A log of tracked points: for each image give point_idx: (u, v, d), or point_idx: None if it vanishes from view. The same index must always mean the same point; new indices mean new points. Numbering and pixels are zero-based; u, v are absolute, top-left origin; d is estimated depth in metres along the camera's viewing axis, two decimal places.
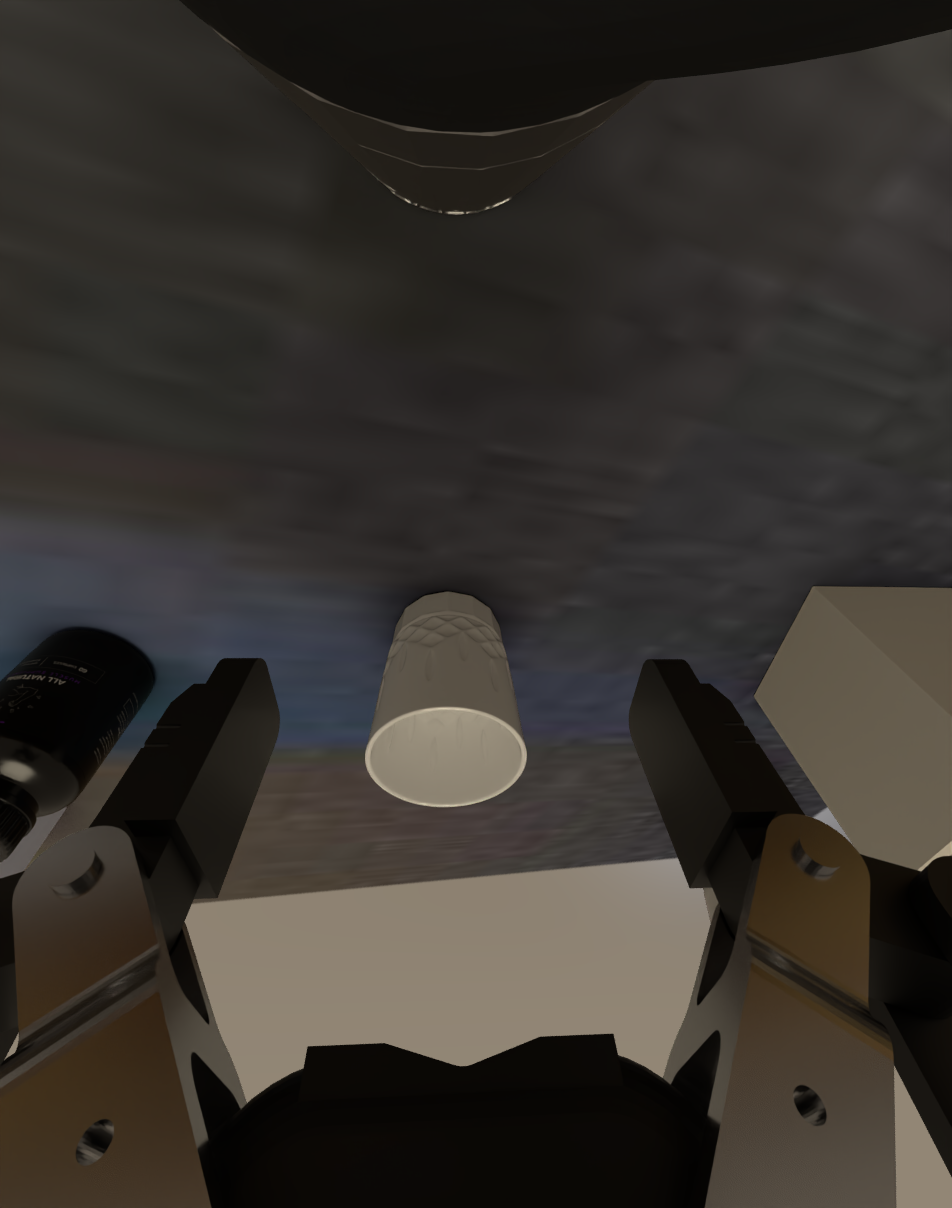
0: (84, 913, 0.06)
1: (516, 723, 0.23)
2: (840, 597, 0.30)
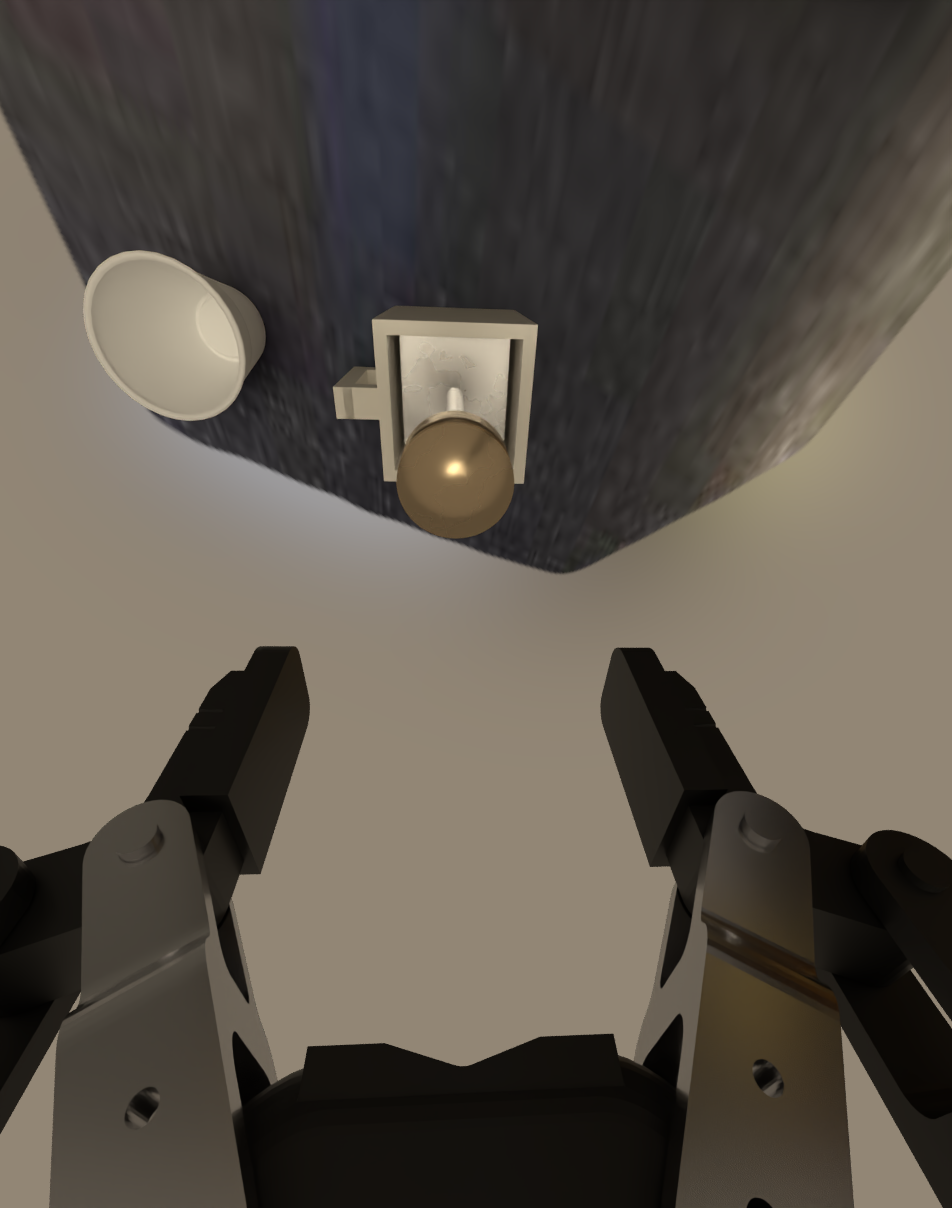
0: (144, 882, 0.06)
1: None
2: None
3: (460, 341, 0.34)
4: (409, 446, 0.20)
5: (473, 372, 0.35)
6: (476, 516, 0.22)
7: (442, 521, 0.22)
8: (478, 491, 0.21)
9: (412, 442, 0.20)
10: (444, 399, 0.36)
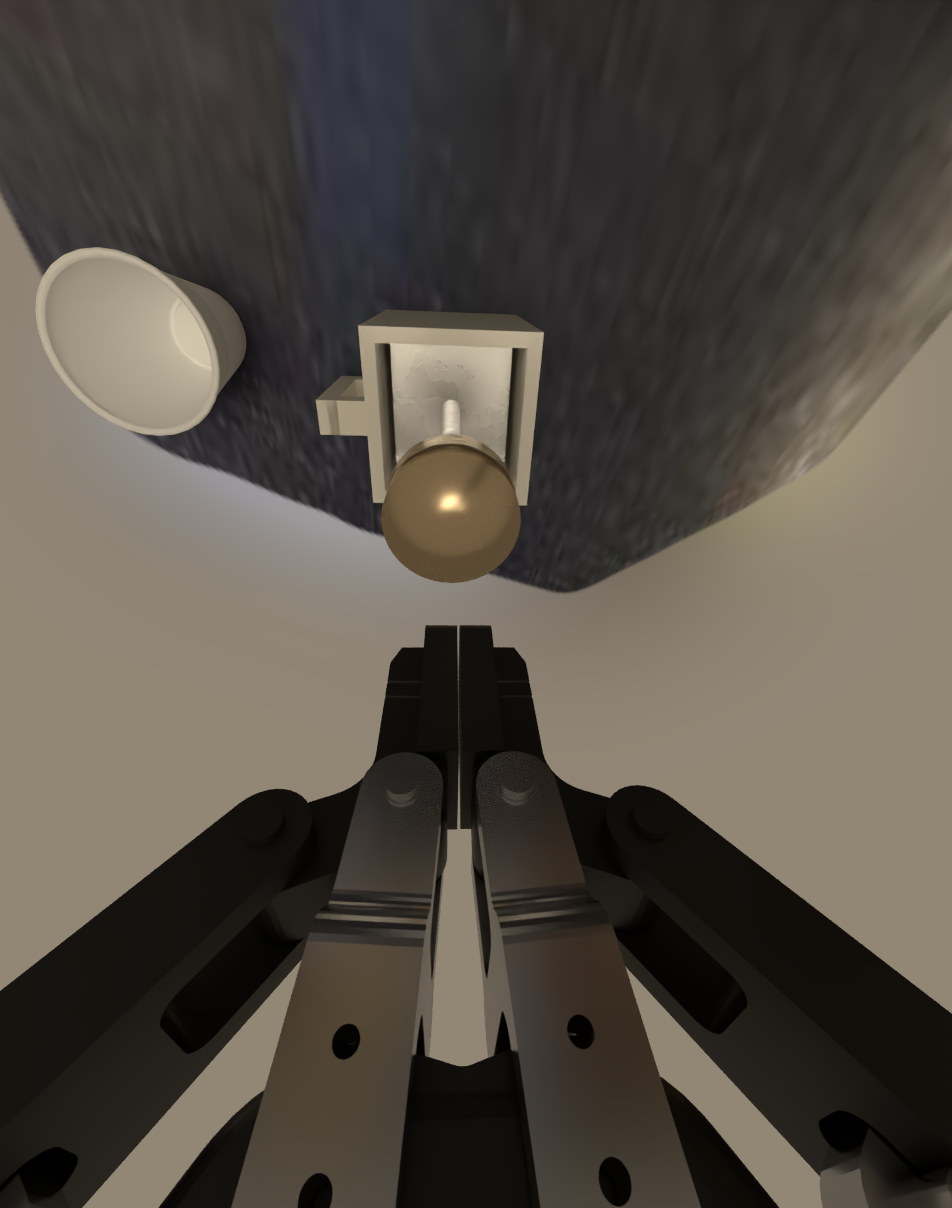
0: (395, 826, 0.07)
1: None
2: None
3: (457, 349, 0.30)
4: (396, 479, 0.17)
5: (472, 384, 0.32)
6: (475, 558, 0.18)
7: (436, 563, 0.18)
8: (478, 529, 0.18)
9: (400, 475, 0.17)
10: (439, 412, 0.33)
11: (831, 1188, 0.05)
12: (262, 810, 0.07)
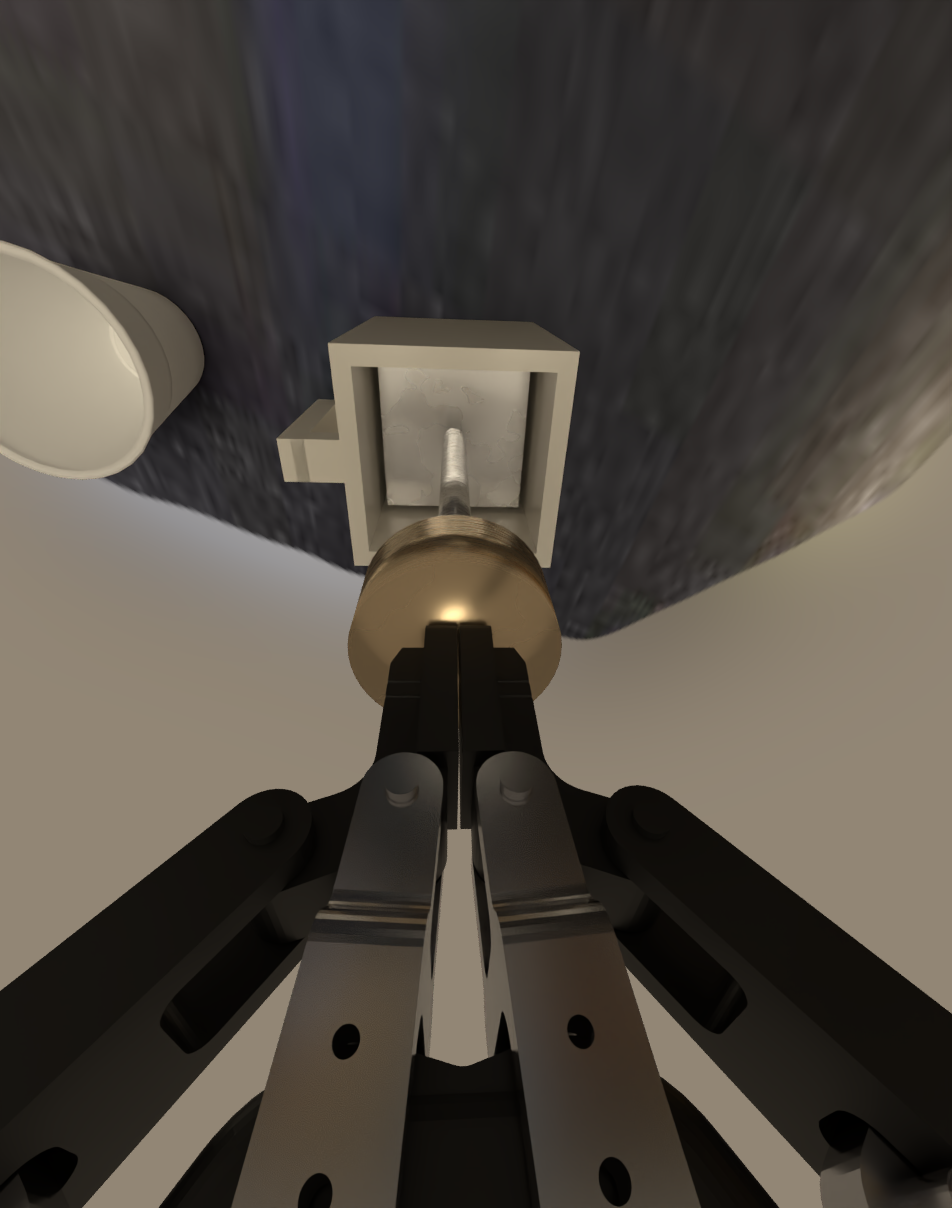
0: (396, 825, 0.07)
1: None
2: None
3: None
4: (369, 597, 0.11)
5: (480, 409, 0.25)
6: None
7: None
8: None
9: (374, 592, 0.10)
10: (440, 443, 0.26)
11: (831, 1188, 0.05)
12: (262, 810, 0.07)
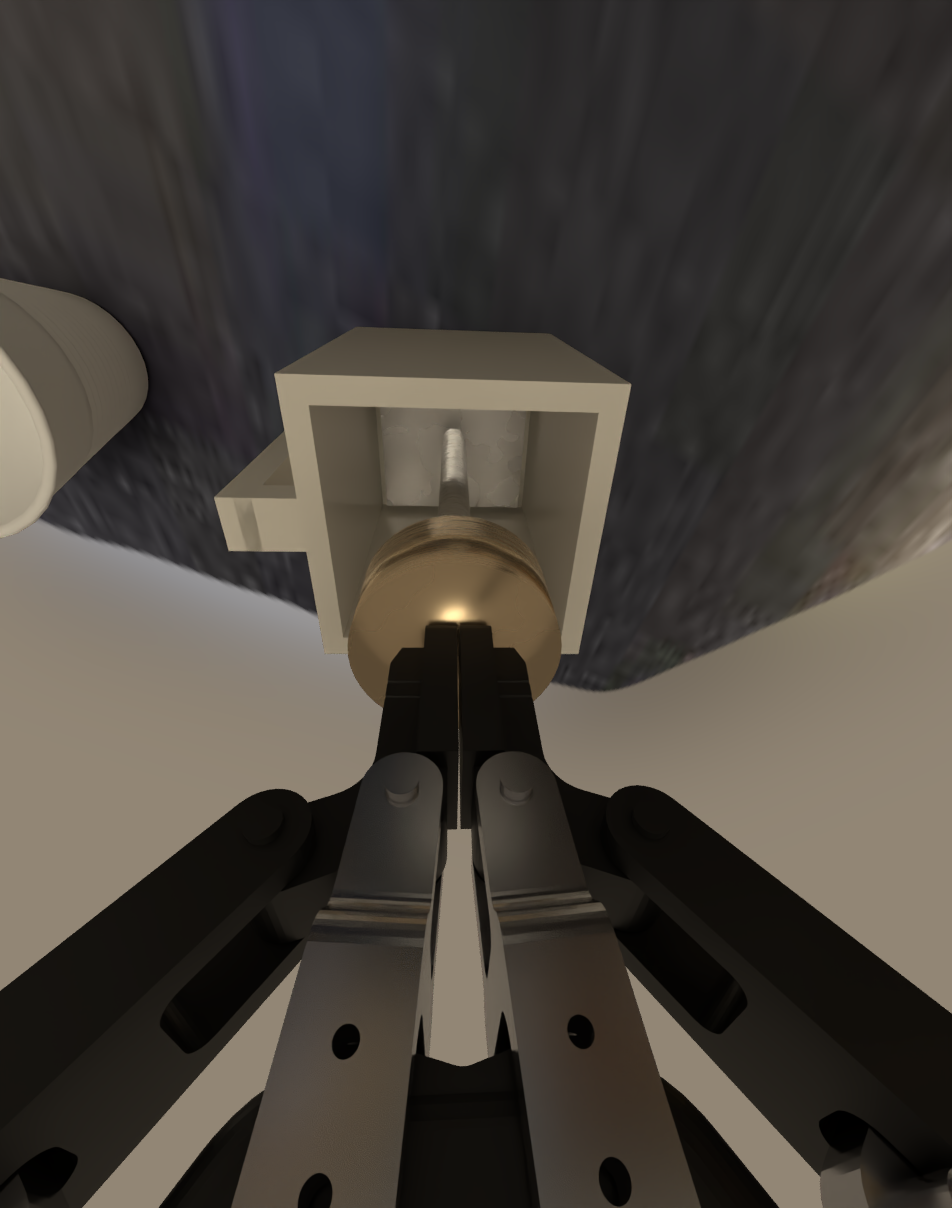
0: (395, 826, 0.07)
1: None
2: None
3: None
4: (368, 598, 0.11)
5: None
6: None
7: None
8: None
9: (374, 593, 0.10)
10: (439, 444, 0.26)
11: (832, 1188, 0.05)
12: (262, 810, 0.07)
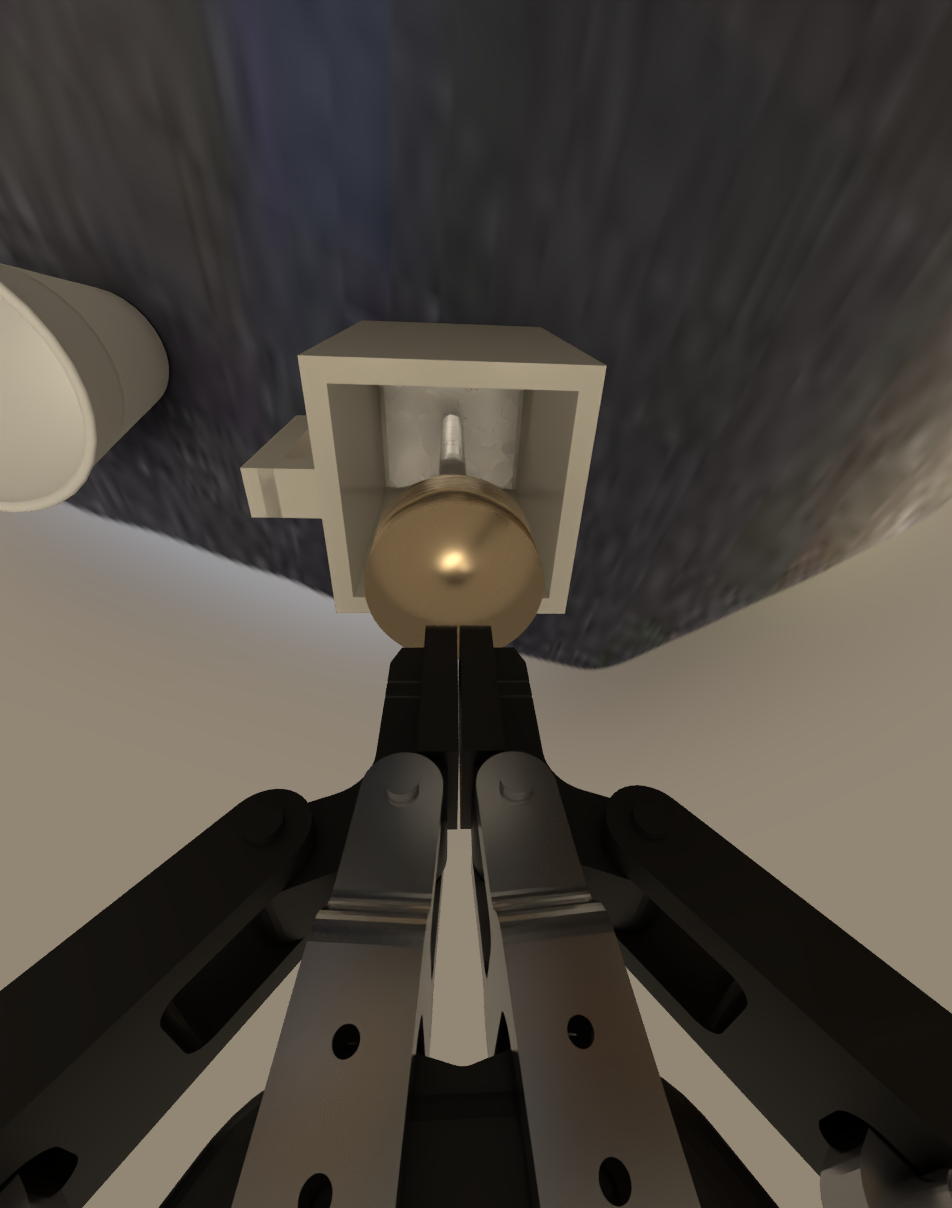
0: (395, 826, 0.07)
1: None
2: None
3: None
4: (382, 538, 0.13)
5: (476, 396, 0.28)
6: None
7: None
8: (489, 598, 0.14)
9: (387, 533, 0.13)
10: (439, 429, 0.29)
11: (832, 1188, 0.05)
12: (262, 810, 0.07)
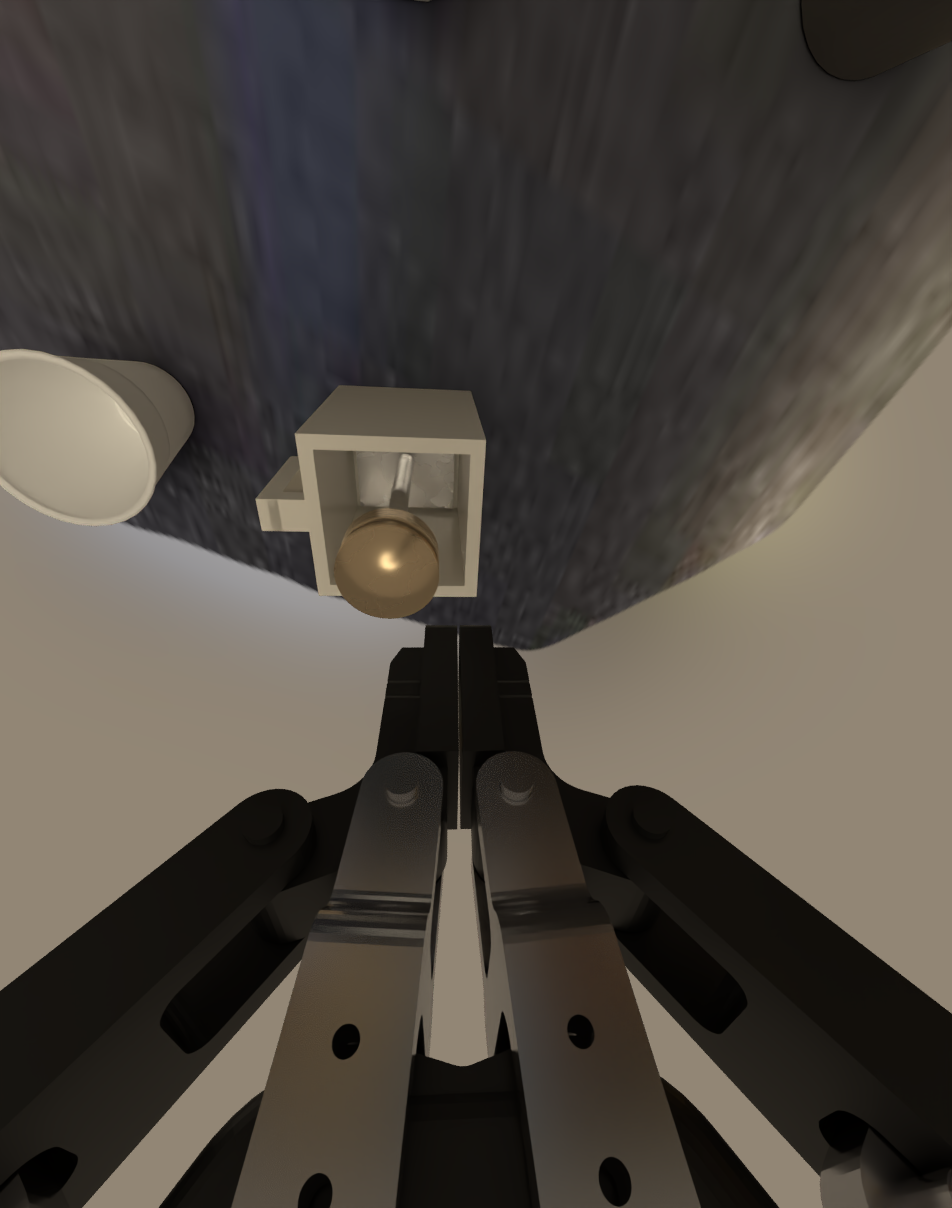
0: (395, 826, 0.07)
1: None
2: None
3: None
4: (344, 545, 0.23)
5: None
6: (407, 601, 0.24)
7: (377, 604, 0.24)
8: (407, 580, 0.24)
9: (346, 542, 0.22)
10: (396, 464, 0.39)
11: (832, 1189, 0.05)
12: (262, 810, 0.07)
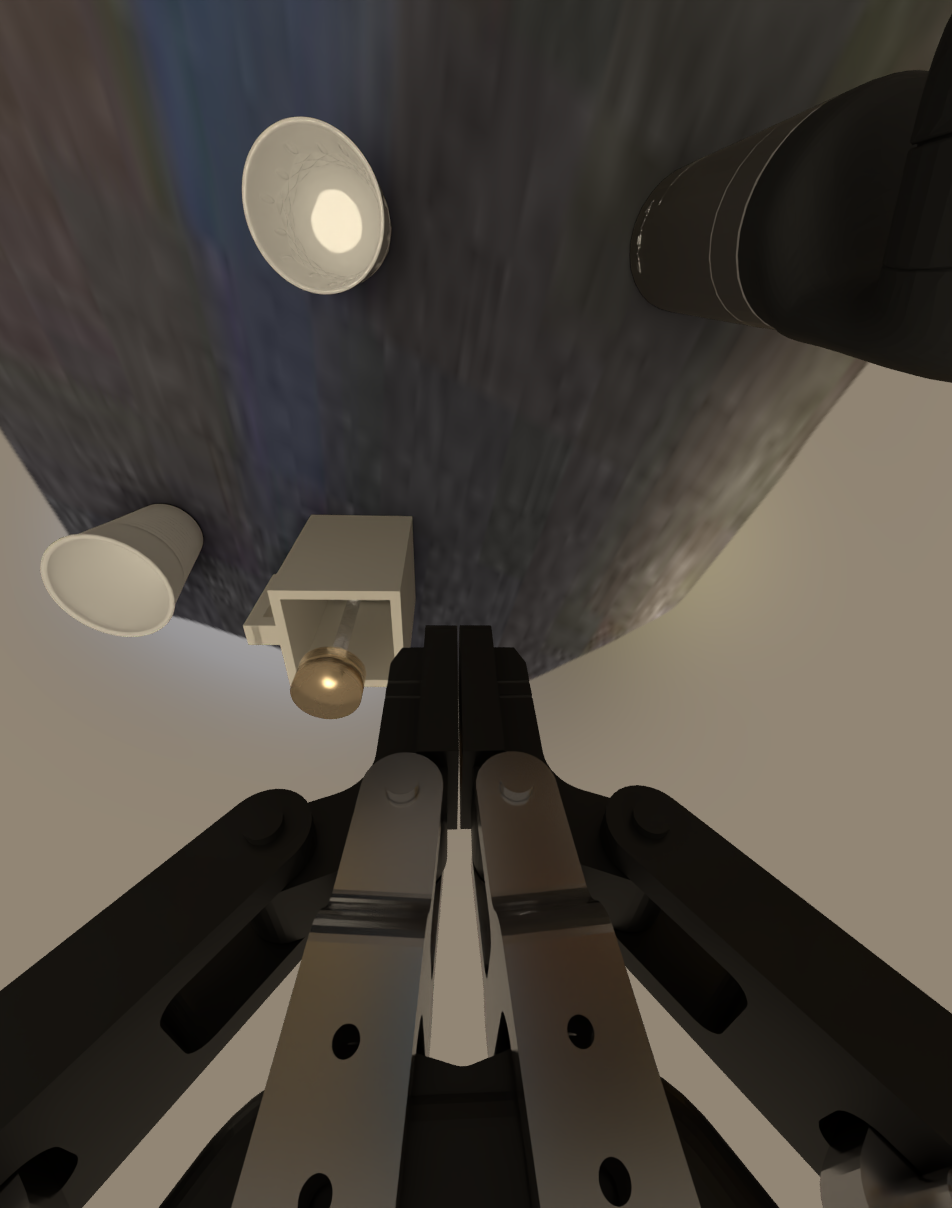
0: (395, 826, 0.07)
1: (358, 283, 0.30)
2: (411, 530, 0.49)
3: None
4: (295, 678, 0.34)
5: None
6: (341, 708, 0.36)
7: (321, 711, 0.36)
8: (340, 696, 0.35)
9: (297, 676, 0.34)
10: None
11: (831, 1189, 0.05)
12: (262, 810, 0.07)
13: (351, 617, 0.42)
